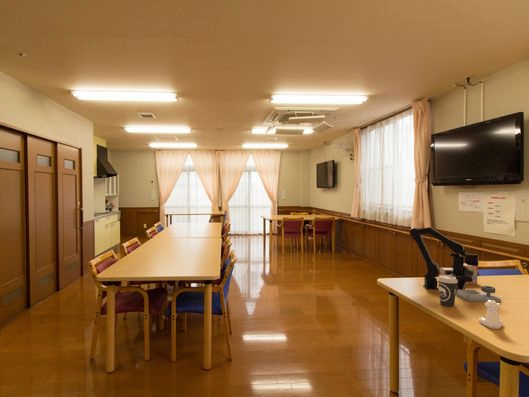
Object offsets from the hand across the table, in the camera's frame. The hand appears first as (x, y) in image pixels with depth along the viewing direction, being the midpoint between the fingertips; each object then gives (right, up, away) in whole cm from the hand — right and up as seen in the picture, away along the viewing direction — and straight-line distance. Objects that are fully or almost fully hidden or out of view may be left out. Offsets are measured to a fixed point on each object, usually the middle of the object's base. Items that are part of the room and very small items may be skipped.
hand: (458, 289), depth 194 cm
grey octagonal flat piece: (+10, +2, -12) cm, 16 cm away
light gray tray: (+4, -1, -12) cm, 13 cm away
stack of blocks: (+13, -2, +21) cm, 25 cm away
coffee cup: (-20, -2, -23) cm, 31 cm away
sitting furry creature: (-16, -2, -51) cm, 53 cm away
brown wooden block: (0, -1, 0) cm, 1 cm away
